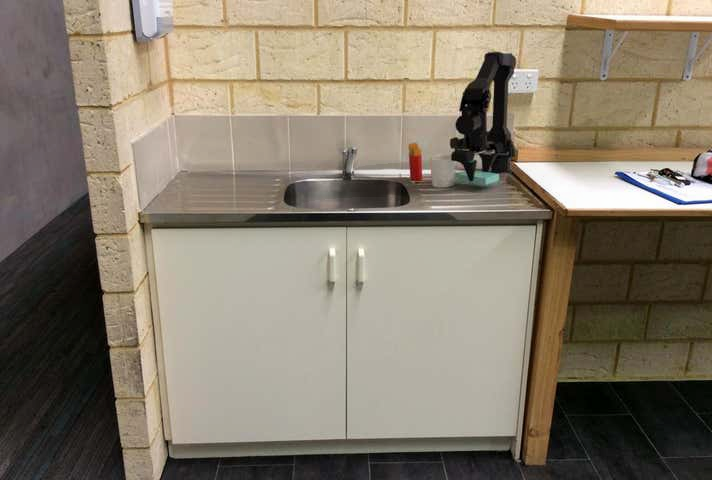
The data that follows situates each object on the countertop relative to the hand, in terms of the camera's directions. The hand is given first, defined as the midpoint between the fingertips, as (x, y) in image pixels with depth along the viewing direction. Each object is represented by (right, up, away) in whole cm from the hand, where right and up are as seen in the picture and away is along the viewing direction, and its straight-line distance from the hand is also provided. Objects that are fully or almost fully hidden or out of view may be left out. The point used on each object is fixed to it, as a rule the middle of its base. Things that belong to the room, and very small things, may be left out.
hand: (478, 178), depth 189 cm
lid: (0, 0, 0) cm, 0 cm away
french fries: (-17, +1, +20) cm, 26 cm away
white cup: (-10, -2, +8) cm, 13 cm away
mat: (0, -4, +1) cm, 4 cm away
